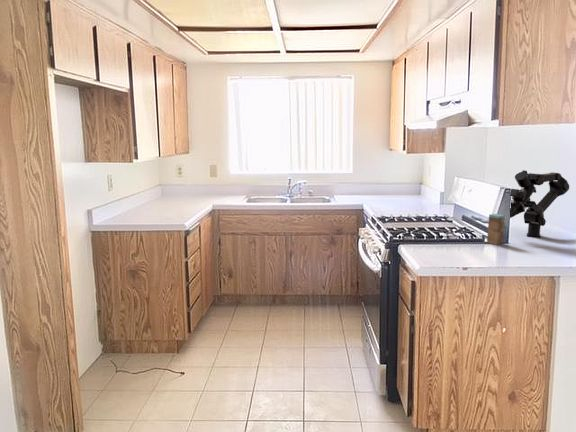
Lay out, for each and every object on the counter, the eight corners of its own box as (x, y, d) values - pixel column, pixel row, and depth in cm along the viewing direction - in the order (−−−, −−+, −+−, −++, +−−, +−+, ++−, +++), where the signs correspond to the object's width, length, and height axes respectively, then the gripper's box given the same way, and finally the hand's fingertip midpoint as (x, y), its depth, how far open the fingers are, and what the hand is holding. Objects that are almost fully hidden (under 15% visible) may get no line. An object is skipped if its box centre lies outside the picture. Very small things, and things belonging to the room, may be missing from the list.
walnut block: (493, 241, 247) (495, 213, 245) (502, 243, 243) (504, 215, 240) (487, 242, 244) (489, 214, 242) (496, 244, 240) (498, 216, 238)
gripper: (502, 181, 255) (487, 204, 251) (537, 184, 239) (521, 209, 235) (510, 195, 260) (495, 218, 256) (545, 199, 245) (529, 224, 241)
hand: (509, 217), depth 247 cm, fingers closed
